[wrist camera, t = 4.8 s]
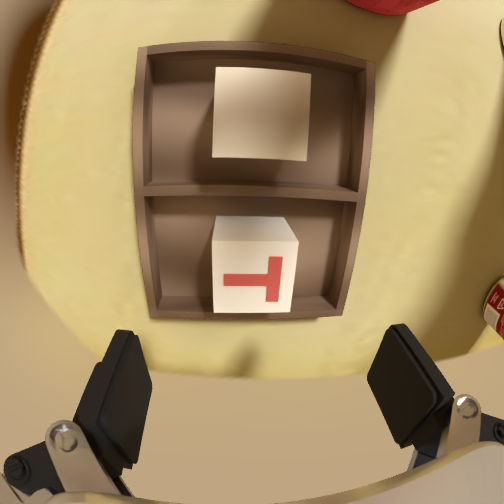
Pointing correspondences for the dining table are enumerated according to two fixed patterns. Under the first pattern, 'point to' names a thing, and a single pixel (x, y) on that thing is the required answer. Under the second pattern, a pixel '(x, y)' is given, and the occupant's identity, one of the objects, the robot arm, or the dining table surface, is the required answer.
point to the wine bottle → (391, 5)
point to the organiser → (247, 174)
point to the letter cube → (253, 264)
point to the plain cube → (261, 113)
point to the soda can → (495, 307)
